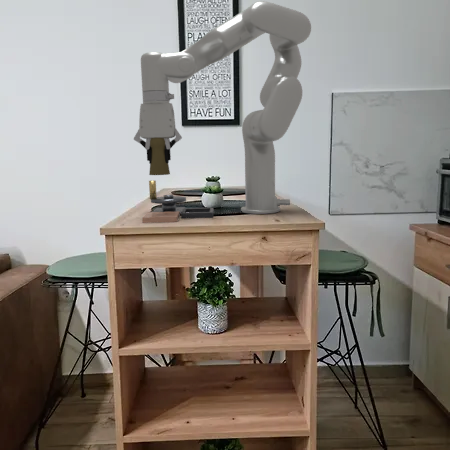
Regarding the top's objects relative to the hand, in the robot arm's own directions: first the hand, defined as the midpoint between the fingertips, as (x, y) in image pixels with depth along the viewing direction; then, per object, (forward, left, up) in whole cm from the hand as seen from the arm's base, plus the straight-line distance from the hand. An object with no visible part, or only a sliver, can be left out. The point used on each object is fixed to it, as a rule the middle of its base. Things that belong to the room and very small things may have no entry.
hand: (159, 162), depth 135 cm
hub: (-1, -16, -17) cm, 23 cm away
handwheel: (0, -15, -13) cm, 21 cm away
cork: (0, 0, -4) cm, 4 cm away
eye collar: (-11, -6, -17) cm, 21 cm away
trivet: (0, 0, -17) cm, 17 cm away
